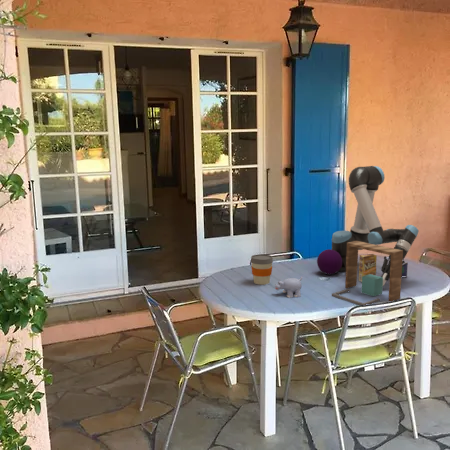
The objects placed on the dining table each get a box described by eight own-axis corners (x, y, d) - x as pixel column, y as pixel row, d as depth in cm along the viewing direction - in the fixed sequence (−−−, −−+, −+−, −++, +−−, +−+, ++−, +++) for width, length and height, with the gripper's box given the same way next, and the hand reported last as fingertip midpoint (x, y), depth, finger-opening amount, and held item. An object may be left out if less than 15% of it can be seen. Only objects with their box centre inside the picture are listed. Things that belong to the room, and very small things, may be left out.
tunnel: (345, 287, 271) (346, 242, 266) (354, 285, 276) (356, 240, 271) (390, 301, 248) (393, 252, 243) (400, 298, 253) (403, 250, 248)
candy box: (362, 282, 280) (363, 256, 277) (358, 280, 284) (359, 254, 281) (375, 281, 282) (377, 255, 280) (371, 279, 286) (372, 253, 284)
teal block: (361, 292, 263) (362, 276, 261) (369, 290, 267) (370, 274, 265) (373, 296, 257) (374, 280, 255) (382, 293, 261) (382, 277, 259)
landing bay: (331, 295, 258) (331, 293, 258) (347, 290, 266) (347, 288, 266) (363, 306, 242) (363, 304, 242) (380, 300, 250) (380, 298, 250)
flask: (406, 276, 291) (407, 258, 289) (407, 277, 288) (408, 260, 286) (390, 276, 292) (391, 258, 290) (391, 277, 289) (392, 260, 287)
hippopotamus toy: (272, 291, 266) (272, 274, 264) (299, 290, 268) (299, 273, 266) (277, 298, 255) (278, 280, 253) (305, 296, 257) (306, 279, 255)
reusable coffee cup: (271, 286, 275) (271, 260, 272) (249, 284, 277) (249, 259, 275) (273, 279, 287) (274, 254, 284) (252, 278, 289) (252, 253, 287)
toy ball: (342, 271, 303) (343, 247, 300) (341, 278, 289) (342, 253, 286) (317, 269, 307) (318, 246, 304) (315, 276, 292) (316, 252, 289)
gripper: (388, 243, 276) (368, 277, 269) (409, 247, 266) (389, 283, 259) (393, 251, 280) (373, 285, 273) (414, 255, 270) (394, 291, 263)
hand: (381, 284), depth 266 cm, fingers closed
